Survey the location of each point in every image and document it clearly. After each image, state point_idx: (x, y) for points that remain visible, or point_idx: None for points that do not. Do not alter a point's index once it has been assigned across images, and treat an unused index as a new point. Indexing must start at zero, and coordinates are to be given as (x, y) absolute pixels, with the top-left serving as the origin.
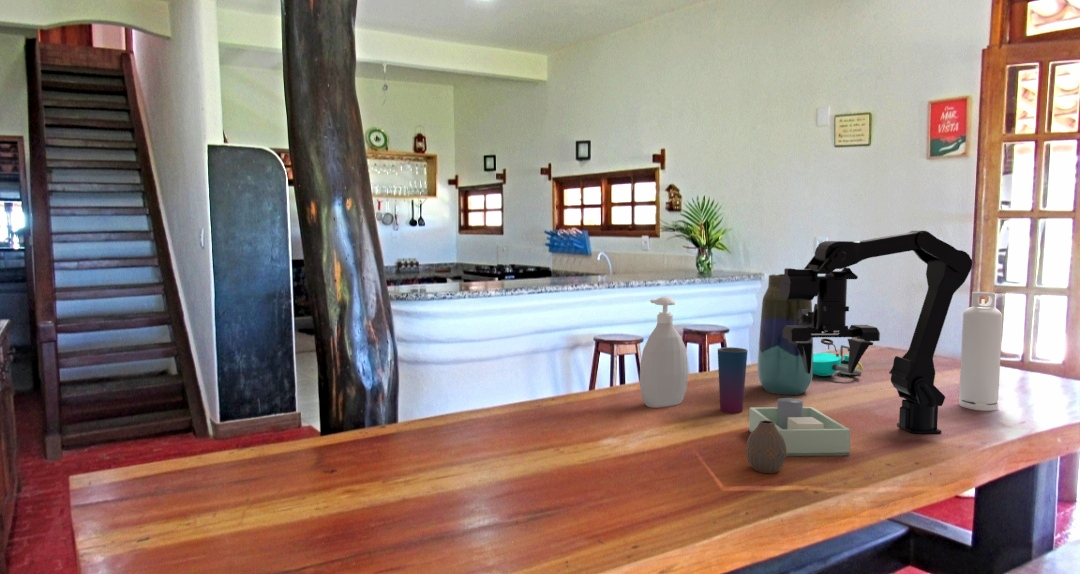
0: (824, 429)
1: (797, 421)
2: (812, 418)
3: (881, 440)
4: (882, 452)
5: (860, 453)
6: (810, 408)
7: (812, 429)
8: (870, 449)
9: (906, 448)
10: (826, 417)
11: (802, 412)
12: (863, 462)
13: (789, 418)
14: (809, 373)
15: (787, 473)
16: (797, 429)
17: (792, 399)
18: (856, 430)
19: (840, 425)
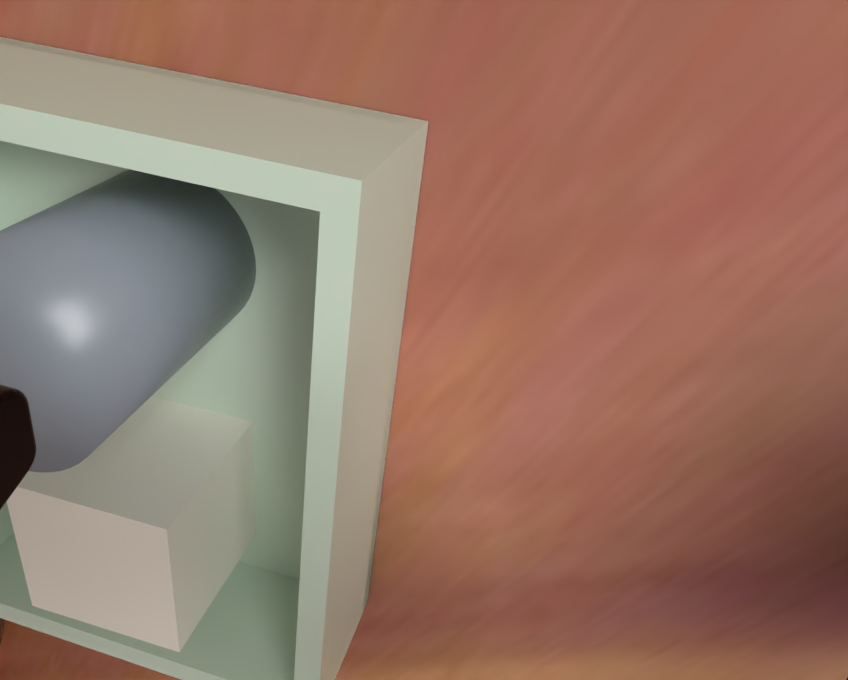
0: (174, 668)
1: (40, 569)
2: (154, 557)
3: (777, 488)
4: (576, 629)
5: (445, 598)
6: (319, 225)
7: (109, 644)
8: (548, 577)
9: (786, 638)
10: (310, 504)
11: (150, 396)
12: (377, 673)
13: (7, 504)
14: (27, 463)
15: (31, 636)
16: (31, 616)
17: (26, 340)
18: (822, 231)
19: (303, 658)
